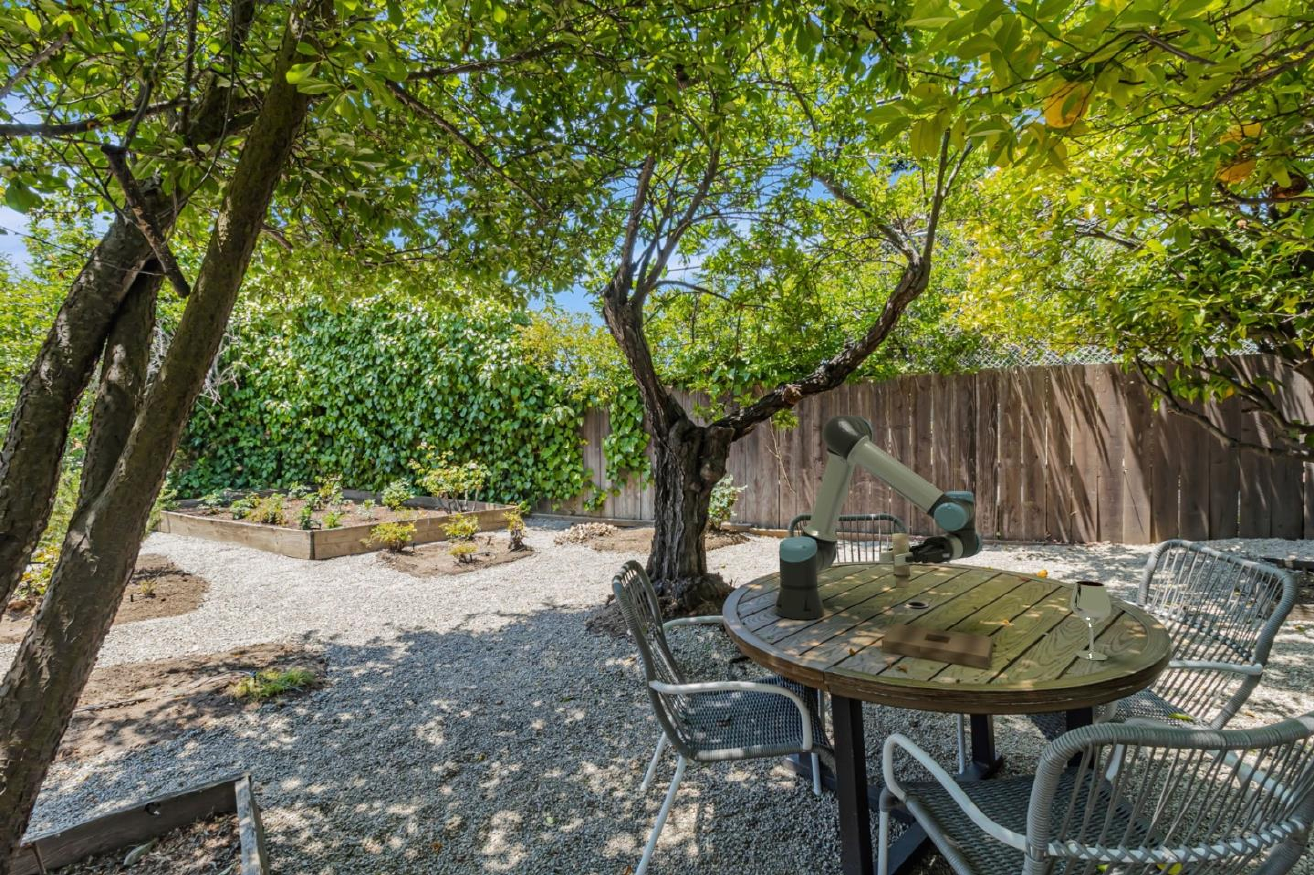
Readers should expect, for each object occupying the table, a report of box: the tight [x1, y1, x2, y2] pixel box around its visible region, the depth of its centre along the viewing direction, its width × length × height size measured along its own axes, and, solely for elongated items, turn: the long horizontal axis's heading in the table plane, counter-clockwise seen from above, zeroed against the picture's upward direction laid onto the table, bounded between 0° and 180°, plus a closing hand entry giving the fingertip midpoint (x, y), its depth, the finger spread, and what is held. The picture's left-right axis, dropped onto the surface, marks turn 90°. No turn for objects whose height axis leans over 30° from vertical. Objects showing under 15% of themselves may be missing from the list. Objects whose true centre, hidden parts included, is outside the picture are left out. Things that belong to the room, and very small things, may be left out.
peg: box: [891, 532, 911, 589], centre depth 158 cm, size 4×4×14 cm
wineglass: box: [1070, 580, 1112, 661], centre depth 146 cm, size 8×8×18 cm
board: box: [881, 622, 994, 670], centre depth 153 cm, size 24×16×3 cm, turn 57°
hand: (888, 559), depth 155 cm, fingers closed on peg, 4 cm apart
